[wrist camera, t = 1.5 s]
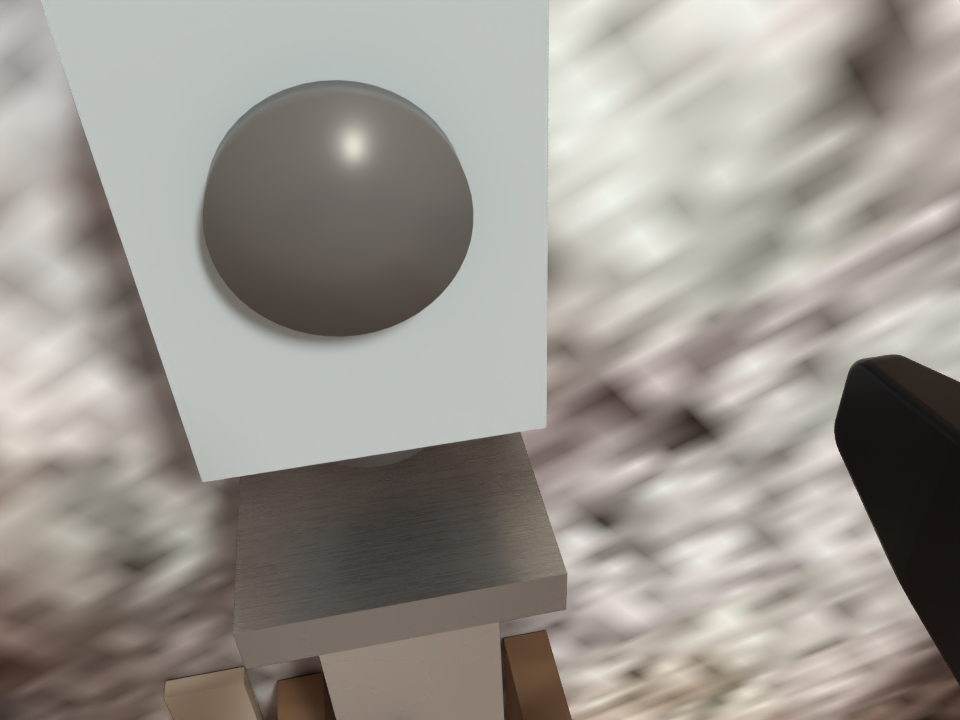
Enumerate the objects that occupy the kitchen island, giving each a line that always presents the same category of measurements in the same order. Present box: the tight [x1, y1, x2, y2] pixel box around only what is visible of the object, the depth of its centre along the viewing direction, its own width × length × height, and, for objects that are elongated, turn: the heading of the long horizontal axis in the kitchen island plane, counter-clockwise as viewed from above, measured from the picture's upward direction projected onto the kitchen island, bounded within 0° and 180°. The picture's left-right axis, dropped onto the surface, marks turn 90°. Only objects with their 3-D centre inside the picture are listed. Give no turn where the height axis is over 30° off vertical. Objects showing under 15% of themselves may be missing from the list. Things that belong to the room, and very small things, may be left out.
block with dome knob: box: [40, 0, 549, 482], centre depth 13 cm, size 5×8×6 cm, turn 3°
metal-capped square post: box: [233, 432, 567, 720], centre depth 19 cm, size 7×10×5 cm
